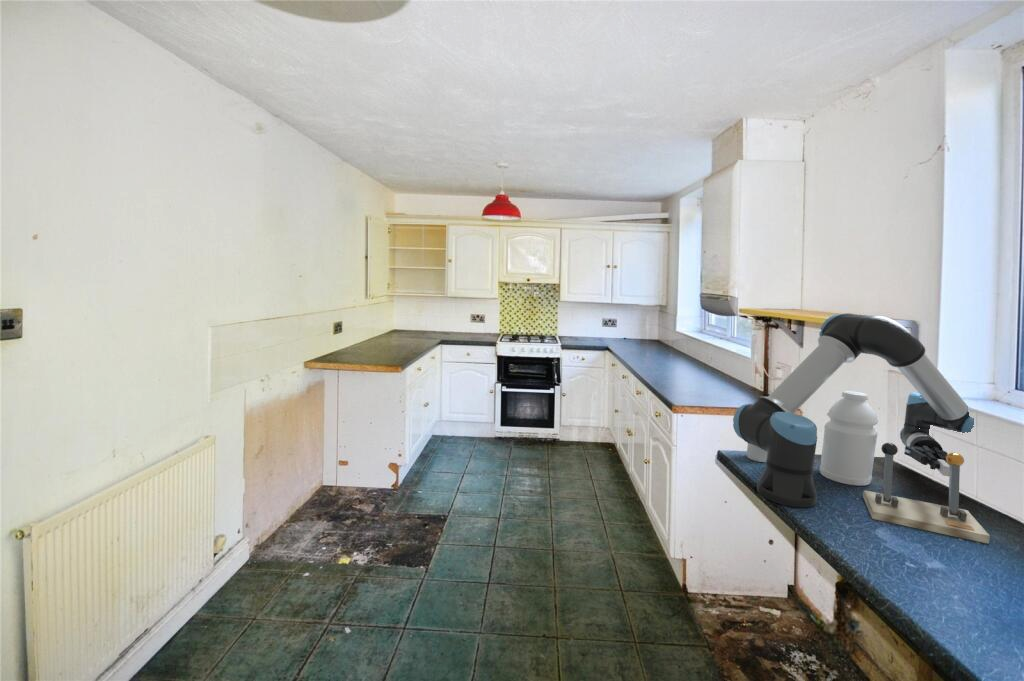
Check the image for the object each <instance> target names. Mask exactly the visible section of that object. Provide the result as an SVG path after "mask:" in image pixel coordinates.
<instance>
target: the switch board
mask: <svg viewBox="0 0 1024 681" xmlns="http://www.w3.org/2000/svg"><path fill="white" fill-rule="evenodd" d="M862 497H863V500H864V502H865V505H866V507H867V509H868V513H869V514H870V517H871V519H873V520H876V521H880V522H885V523H890V524H896V525H901V526H904V527H905V526H906V527H909V528H914V529H919V530H923V531H928V532H933V533H937V534H942V535H947V536H951V537H955V538H959V539H965V540H970V541H973V542H974V541H975V542H978V543H983V544H989V543H990V538H991V535H990V534H989V533H988V532H987V531H986V530H985V529H984V527H983V526H982V525H981V524H980V523H979V521H977V519H976V518H975V517H974V516H973V515H972V514H971V513H970V511H969V510H967V509H963V508H959V513H958V516H954V515H950V514H949V510H948V507H949V505H942V504H937V503H932V502H927V501H923V500H916V499H910V498H905V497H902V496H900V497H899V496H894V495H891V501H890V503H889V502H884V501H883V493H882V492H881V493H879V492H874V491H869V490H864V489H863V494H862Z"/></svg>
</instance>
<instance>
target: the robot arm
mask: <svg viewBox="0 0 1024 681" xmlns="http://www.w3.org/2000/svg"><path fill="white" fill-rule="evenodd" d="M817 343H818V346H817V347H815V349H813V351H812V352H810V353H809V355H808V356H806V357H805V358H804V359H803V361H801V362H800V363H799V365H798V366H796V367H795V369H793V371H792V372H791V373H790V374H789V375H788V376H787V377H786V378H785V379H784V380H783V381H782V382H781V383H779V385H778V386H777V387H776V388H775V389H774V390H773V391H771V393H770V394H769V395H768V396H760V397H758V399H757V400H756V401H755V402H754V403H746V404H742V405H740V406H739V407H738V408H737V409H736V411H735V413H734V414H733V418H732V422H733V423H732V427H733V430H734V432H735V434H736V436H738V438H741V439H742V440H743V441H744V442H746V444H748V443H749V444H752V445H755V446H757V447H759V448H761V449H763V450H765V451H767V461H766V462H765V463H766V464H765V467H764V469H763V471H762V473H761V475H760V477H759V479H758V481H757V484H756V492H757V494H759V496H761V497H763V498H764V499H766V500H768V501H771V502H773V503H776V504H778V505H779V504H780V505H783V506H787V507H793V508H801V509H803V508H804V509H806V508H811V507H815V505H817V500H818V495H817V494H818V493H817V490H816V485H815V483H814V482H815V481H814V477H813V473H814V472H813V471H814V463H815V456H816V448H817V443H818V442H817V441H818V427H817V425H816V423H815V422H814V421H813V420H812V419H810V418H808V417H805V416H803V415H801V414H795V413H796V412H797V411H798V410H799V409H800V408H801V407H802V406H803V405H804V404H805V403H807V401H808V400H809V399H810V398H811V397H812V395H814V394H815V393H816V392H817V391H818V390H819V388H821V387H822V385H823V384H824V383H826V382H827V380H828V379H830V377H831V376H832V375H833V374H835V372H836V371H837V370H838V369H839V368H840V367H841V366H843V364H845V363H846V364H847V363H853V362H854V361H855V360H856V359H857V358H858V357H859V356H860V355H861V354H866V355H867V354H868V355H873V356H876V357H879V358H882V359H883V360H885V362H887V363H888V364H889V365H890V366H892V367H893V368H897V369H898V370H899V371H900V372H901V374H902V375H903V376H904V378H906V379H907V380H908V382H909V383H910V384H911V385H912V386H913V387H914V389H915V390H916V392H910V393H909V394H908V398H907V403H906V406H905V414H904V415H905V417H904V423H903V427H902V429H901V430H900V432H899V438H900V440H901V443H902V444H903V445H904V455H906V456H907V457H911V458H912V459H913V460H915V461H917V462H918V463H920V464H921V465H924V466H928V465H929V466H930V468H929V469H930V470H933V471H934V470H937V471H938V472H939V473H940V474H941V475H942V476H945V477H949V475H950V464H948V463H947V461H946V456H947V455H948V454H949V453H948V452H947V451H944V448H943V447H942V445H941V444H940V443H939V442H938V441H937V440H936V439H935V438H934V437H933V436H932V437H931V436H930V435H929V429H930V425H933V426H934V427H936V428H940V429H943V428H944V430H948V431H950V430H953V431H957V432H962V433H965V432H967V433H968V432H971V429H972V428H973V427H974V426H973V425H974V418H972V417H970V416H969V412H968V407H969V406H968V405H967V403H966V402H965V401H964V400H963V398H962V397H961V396H960V395H959V393H958V392H957V390H955V389H954V388H953V386H952V385H951V384H950V382H949V381H948V380H947V379H946V378H945V376H944V375H943V373H941V371H940V370H939V369H938V368H937V367H936V366H935V364H934V363H933V362H932V360H931V359H930V358H929V357H928V356H927V355H926V351H927V350H926V347H925V346H924V344H922V342H921V341H920V340H919V339H918V337H916V336H915V335H914V334H913V333H912V332H911V330H908V329H907V328H906V327H905V326H903V325H902V324H901V323H899V322H897V321H896V320H894V319H891V318H889V317H886V316H881V315H867V314H857V313H856V314H855V313H850V312H848V313H846V312H845V313H838V314H834V315H831V316H829V317H828V318H826V319H825V320H824V321H823V322H822V324H821V326H820V331H819V337H818V339H817ZM919 428H920V429H919ZM953 431H952V432H953ZM957 432H956V433H957Z"/></svg>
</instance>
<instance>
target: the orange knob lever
mask: <svg viewBox="0 0 1024 681" xmlns="http://www.w3.org/2000/svg"><path fill="white" fill-rule="evenodd" d="M947 454H948V455H947V456H946V461H947V463H948V464H950V475H949V476H948V478H949V481H948V486H949V487H948V510H949V514H950V515H954V516H958V513H959V509H960V508H959V507H960V505H959V504H960V474H961V473H960V472H961V468H960V467H961V466H962V465H964V463H965V458H964V457H963V455H961V453H957V452H949V453H947Z"/></svg>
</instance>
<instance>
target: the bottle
mask: <svg viewBox="0 0 1024 681" xmlns="http://www.w3.org/2000/svg"><path fill="white" fill-rule="evenodd" d="M841 397H842V398H840V399H839V400H838V401H836V402H835V403H834V404H832V406H831V407H830V409H829V410H828V412H827V413H826V415H827V416H828V417H829V419H830V420H829V421H828V422H826V423H825V425H824V429H823V430H824V431H823V439H822V440H823V442H822V447H821V448H822V449H821V457H820V466H819V473H820V475H822V476H823V477H824V478H826V479H828V480H830V481H831V480H832V481H834V482H837V483H840V484H844V485H849V486H868V485H870V484H871V482H872V480H873V475H872V474H873V468H874V460H875V453H876V446H877V439H878V434H879V433H878V431H877V430H876V429H875V427H874V426H875V425H877V424H878V422H879V420H878V416H877V413H876V412H875V410H874V408H873V407H872V406H871V405H870V404H869V403H868V402H867V401H868V399H869V395H868V394H867V393H865V392H861V391H854V390H843V391H842V394H841Z"/></svg>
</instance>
